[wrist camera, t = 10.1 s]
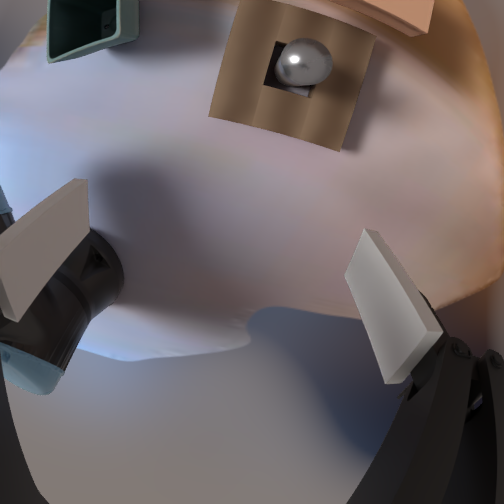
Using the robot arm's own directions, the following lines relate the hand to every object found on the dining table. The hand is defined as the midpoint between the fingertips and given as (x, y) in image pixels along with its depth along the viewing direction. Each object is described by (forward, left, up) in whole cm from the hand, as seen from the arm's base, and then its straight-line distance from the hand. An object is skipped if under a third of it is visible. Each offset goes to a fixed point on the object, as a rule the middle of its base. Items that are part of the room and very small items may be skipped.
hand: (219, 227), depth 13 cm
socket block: (+3, +9, -22) cm, 24 cm away
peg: (+3, +9, -22) cm, 24 cm away
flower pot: (-18, +12, -22) cm, 31 cm away
